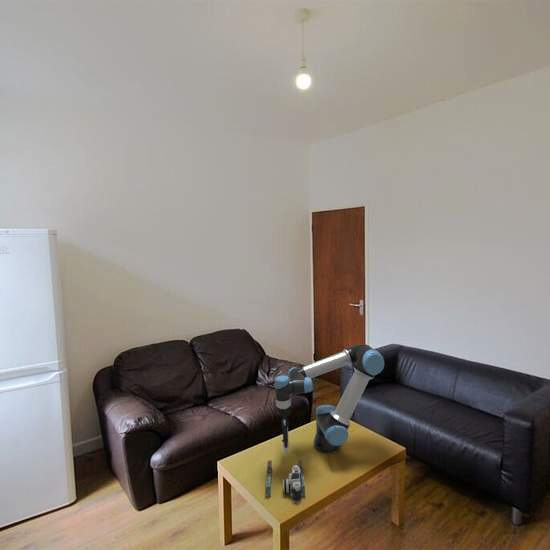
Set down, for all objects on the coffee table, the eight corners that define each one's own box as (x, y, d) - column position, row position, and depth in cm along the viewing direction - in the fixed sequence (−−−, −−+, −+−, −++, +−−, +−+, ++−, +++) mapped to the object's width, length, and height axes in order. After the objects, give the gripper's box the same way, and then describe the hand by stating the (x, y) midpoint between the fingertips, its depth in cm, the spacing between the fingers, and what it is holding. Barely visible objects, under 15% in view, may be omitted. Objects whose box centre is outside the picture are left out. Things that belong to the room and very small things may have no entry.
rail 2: (302, 469, 187) (302, 459, 187) (305, 496, 167) (304, 485, 167) (298, 469, 187) (298, 459, 187) (300, 496, 167) (300, 485, 167)
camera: (283, 479, 180) (282, 460, 179) (300, 479, 180) (300, 460, 179) (283, 502, 164) (283, 482, 163) (302, 502, 164) (302, 481, 163)
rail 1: (271, 469, 188) (271, 459, 187) (270, 496, 168) (270, 486, 167) (268, 469, 188) (267, 459, 187) (266, 496, 168) (265, 486, 167)
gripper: (276, 395, 200) (279, 432, 202) (276, 418, 175) (279, 459, 177) (290, 395, 200) (292, 431, 202) (291, 417, 175) (294, 458, 177)
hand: (286, 444), depth 189 cm, fingers open, 13 cm apart
